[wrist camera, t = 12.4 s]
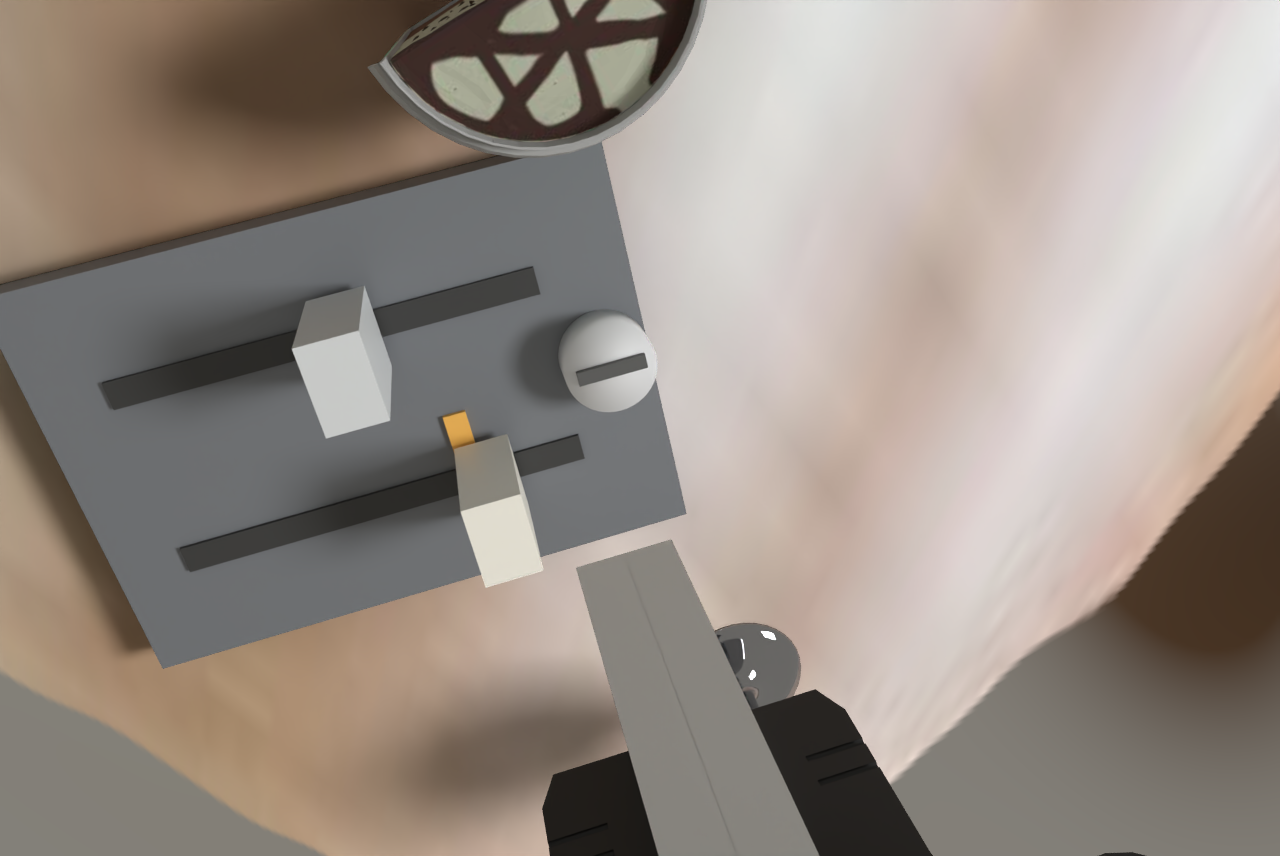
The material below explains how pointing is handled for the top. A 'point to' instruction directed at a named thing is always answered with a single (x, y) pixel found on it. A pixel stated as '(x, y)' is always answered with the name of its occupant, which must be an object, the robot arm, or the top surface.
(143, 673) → the top surface
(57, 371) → the console
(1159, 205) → the top surface
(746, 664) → the wine glass
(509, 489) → the fader
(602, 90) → the food container
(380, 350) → the fader
